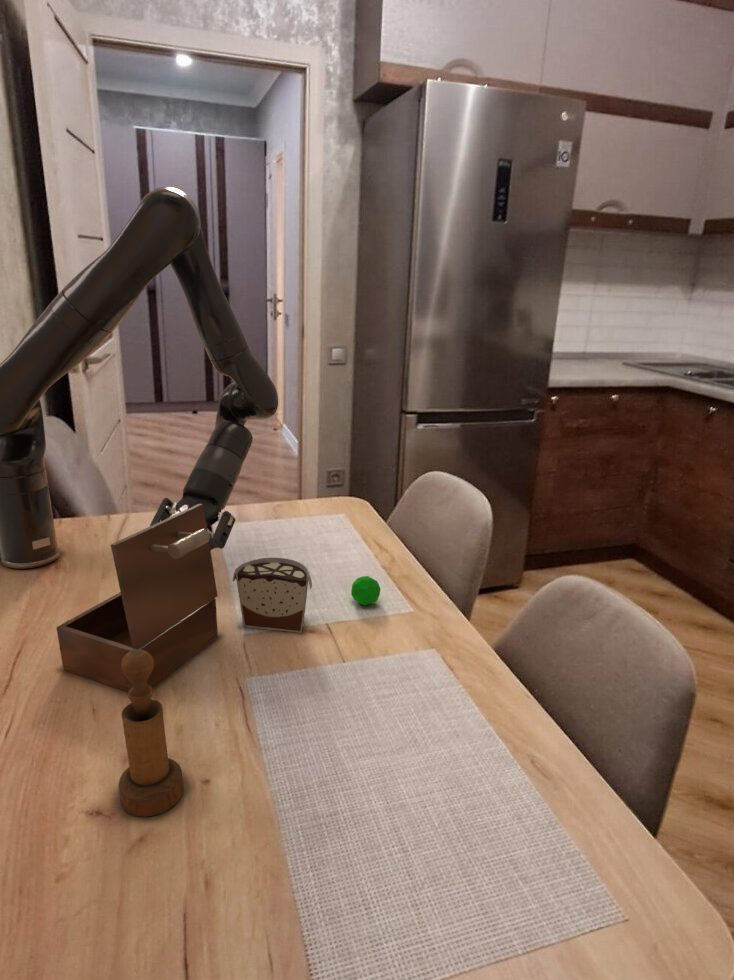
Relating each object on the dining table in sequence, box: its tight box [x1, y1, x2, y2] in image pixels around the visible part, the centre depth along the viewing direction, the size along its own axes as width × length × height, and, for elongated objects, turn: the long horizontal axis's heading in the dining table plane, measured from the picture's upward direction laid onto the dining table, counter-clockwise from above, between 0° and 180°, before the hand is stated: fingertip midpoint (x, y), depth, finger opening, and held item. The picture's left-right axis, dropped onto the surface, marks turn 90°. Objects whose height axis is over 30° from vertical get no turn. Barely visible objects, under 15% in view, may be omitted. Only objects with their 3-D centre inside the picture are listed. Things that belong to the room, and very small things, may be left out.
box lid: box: [110, 504, 218, 650], centre depth 89 cm, size 14×17×6 cm
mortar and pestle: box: [118, 650, 185, 817], centre depth 69 cm, size 7×6×18 cm
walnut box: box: [56, 591, 219, 693], centre depth 96 cm, size 14×17×7 cm
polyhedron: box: [350, 575, 381, 606], centre depth 114 cm, size 5×5×5 cm
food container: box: [232, 557, 313, 634], centre depth 106 cm, size 12×6×10 cm, turn 84°
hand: (174, 562), depth 111 cm, fingers open, 7 cm apart
